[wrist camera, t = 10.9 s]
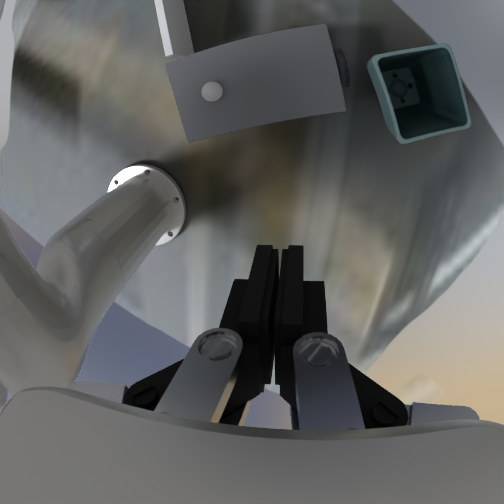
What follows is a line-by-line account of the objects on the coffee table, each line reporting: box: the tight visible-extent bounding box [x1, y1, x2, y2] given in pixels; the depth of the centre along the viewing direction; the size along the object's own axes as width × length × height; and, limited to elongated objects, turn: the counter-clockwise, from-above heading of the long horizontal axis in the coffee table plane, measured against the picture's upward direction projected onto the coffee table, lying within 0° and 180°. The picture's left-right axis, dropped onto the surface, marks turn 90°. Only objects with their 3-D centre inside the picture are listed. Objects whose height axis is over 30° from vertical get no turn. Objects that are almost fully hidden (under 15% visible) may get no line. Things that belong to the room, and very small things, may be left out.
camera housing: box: [165, 24, 350, 143], centre depth 27 cm, size 17×9×8 cm, turn 105°
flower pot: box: [367, 44, 471, 144], centre depth 24 cm, size 9×9×9 cm
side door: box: [155, 0, 194, 59], centre depth 23 cm, size 14×2×7 cm, turn 12°
